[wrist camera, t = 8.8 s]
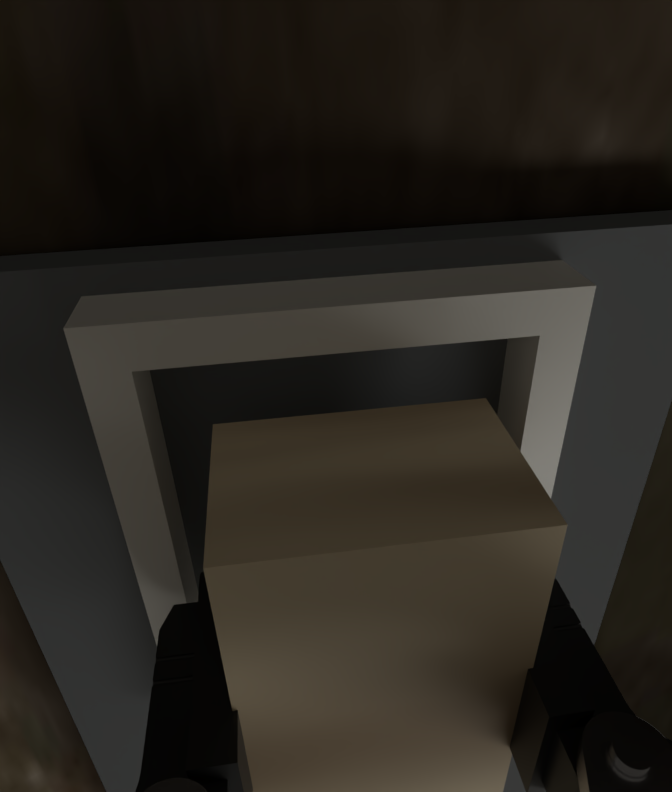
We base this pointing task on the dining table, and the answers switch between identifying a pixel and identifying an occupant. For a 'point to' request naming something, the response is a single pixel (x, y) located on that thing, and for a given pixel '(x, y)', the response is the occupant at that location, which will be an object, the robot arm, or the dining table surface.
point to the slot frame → (308, 336)
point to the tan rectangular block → (378, 594)
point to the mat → (298, 396)
